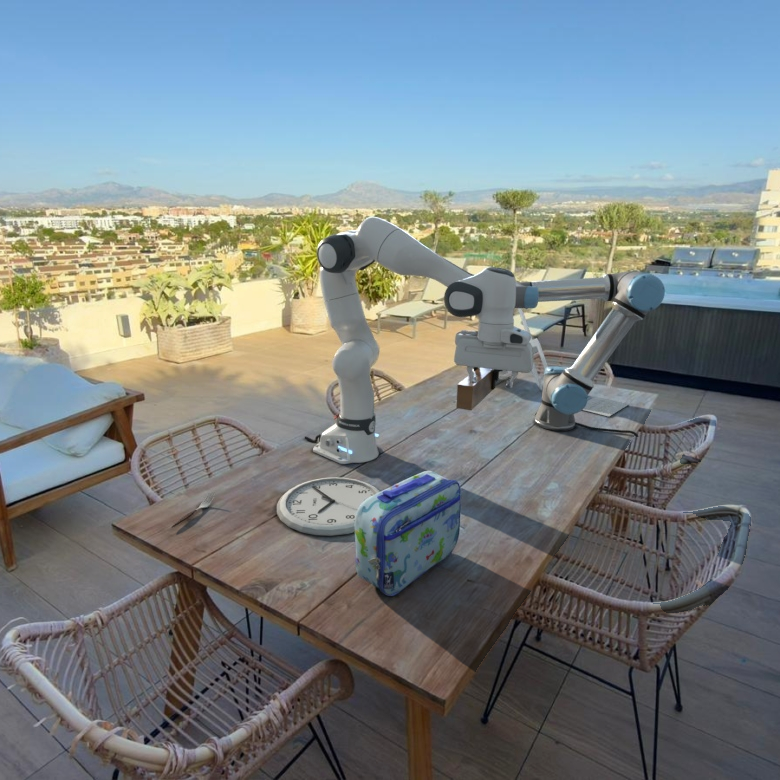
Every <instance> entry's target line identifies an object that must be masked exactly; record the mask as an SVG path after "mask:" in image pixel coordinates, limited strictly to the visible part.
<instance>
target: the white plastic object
mask: <svg viewBox="0 0 780 780" xmlns="http://www.w3.org/2000/svg"><path fill="white" fill-rule="evenodd" d="M517 310H518V314H519V316H520V319H521V322H522V325H523V328H524V329H523V330H524V331H527V332H529V333H530V334H531V331H530V328H529V325H528V322H527V319H526V316H525V313H524V311H523V308H517ZM529 343H531V345H532V347H533V355H534V354H536V353H538V355H539V357H540V360H541V363H542V367H543V369H544V370H545V369H546V368H547V367H549V366H548V363H547V359H546V357H545V353H544V350H543V348H542V345H541V342H540V340H539V339H538V338H537V337H535V338H533V336H532V334H531V339H530V341H529ZM472 371H473V372H474V369H473V370H472ZM531 372H532V375H533V378H534V381H535V384H536V385H537V386H538V388H539V389H540V391H543V384H542V382H541V380H540V376H539V374H538V370H537V367H536V365H535V361H534V360H533V369H532V370H531ZM506 374H509V371H506V370H503V371H500V372H499V377H501V376H504V375H506Z"/></svg>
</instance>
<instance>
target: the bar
mask: <svg viewBox="0 0 780 780" xmlns="http://www.w3.org/2000/svg"><path fill="white" fill-rule="evenodd" d="M493 371H494V369H488V368H478V369H477V370H475V371H474V372H473V373H474V375H476V376H477V383H470V379H471V377H470V375H469V374H468V376H466V377H465V378H464V379H462V380H461V381H459V383H457V384H456V385H457V387H456V389H457V390H456V409H458V410H466V411H473V409H475V408H476V407H477V406H478V405H479V404H480V403H481V402H482V401H483V400H484V399H485V398H486V397H487V396H488V395H489V394H490V393H491V392H493V390H491V387H492V372H493Z"/></svg>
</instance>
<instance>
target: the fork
mask: <svg viewBox="0 0 780 780" xmlns="http://www.w3.org/2000/svg"><path fill="white" fill-rule="evenodd" d="M216 495H217V494H212V493H208V494H207V495H206V497H205V498H204V499H203V501H202V502H201V503H200V505H198V507H197V508H196V509H193V510H192V511H190V512H188V513H187V514H185V515H183V517H181V518H180V519H179V520H178V521H176V522H175V523H174V524H173V525H172V526H171V529H173V528H175V527H176V526H178V525H179V524H181V523H183V522H184V521H186V520H188V519H189V518H191V517H192V516H193V515H194V514H195V513H197V511H198V510H200V509H207V508H208V507H210V505H211V504H212V502H213V501H214V499H215V497H216Z"/></svg>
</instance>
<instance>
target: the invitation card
mask: <svg viewBox="0 0 780 780" xmlns="http://www.w3.org/2000/svg"><path fill="white" fill-rule="evenodd" d="M628 406H629V404H627V403H623V402H618V401H614V400H609V399H605V398H601V397H596V396H593V397H592V398H590V399H588V401H587V404H586V406H585V407H584V409H583V410H582V411H584V412H587V413H593V414H596V415H600V416H604V417H608V418H609V417H611V416H613V415H614V414H616V413H617V412H619V411H621V410H623V409H624V408H626V407H628Z"/></svg>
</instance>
